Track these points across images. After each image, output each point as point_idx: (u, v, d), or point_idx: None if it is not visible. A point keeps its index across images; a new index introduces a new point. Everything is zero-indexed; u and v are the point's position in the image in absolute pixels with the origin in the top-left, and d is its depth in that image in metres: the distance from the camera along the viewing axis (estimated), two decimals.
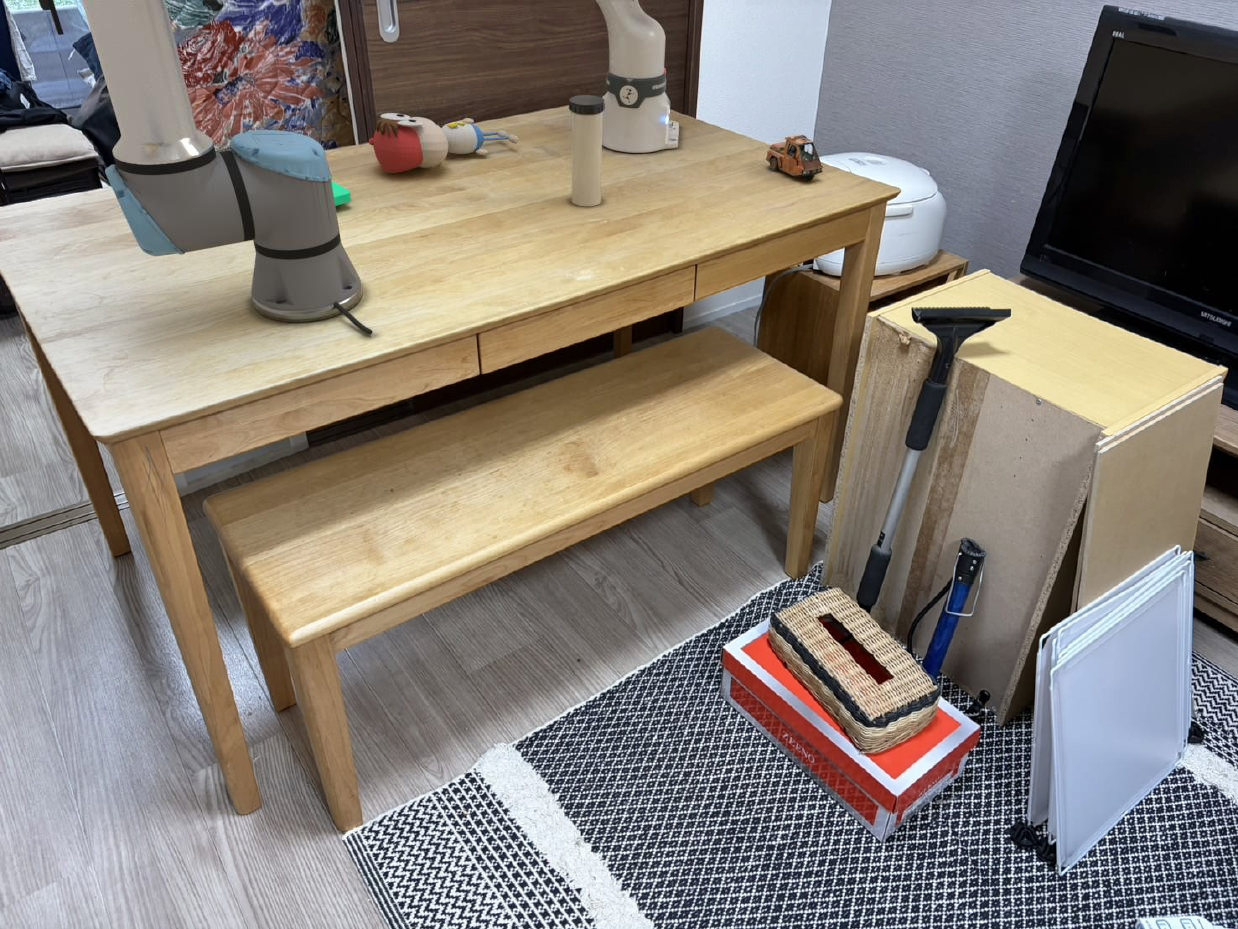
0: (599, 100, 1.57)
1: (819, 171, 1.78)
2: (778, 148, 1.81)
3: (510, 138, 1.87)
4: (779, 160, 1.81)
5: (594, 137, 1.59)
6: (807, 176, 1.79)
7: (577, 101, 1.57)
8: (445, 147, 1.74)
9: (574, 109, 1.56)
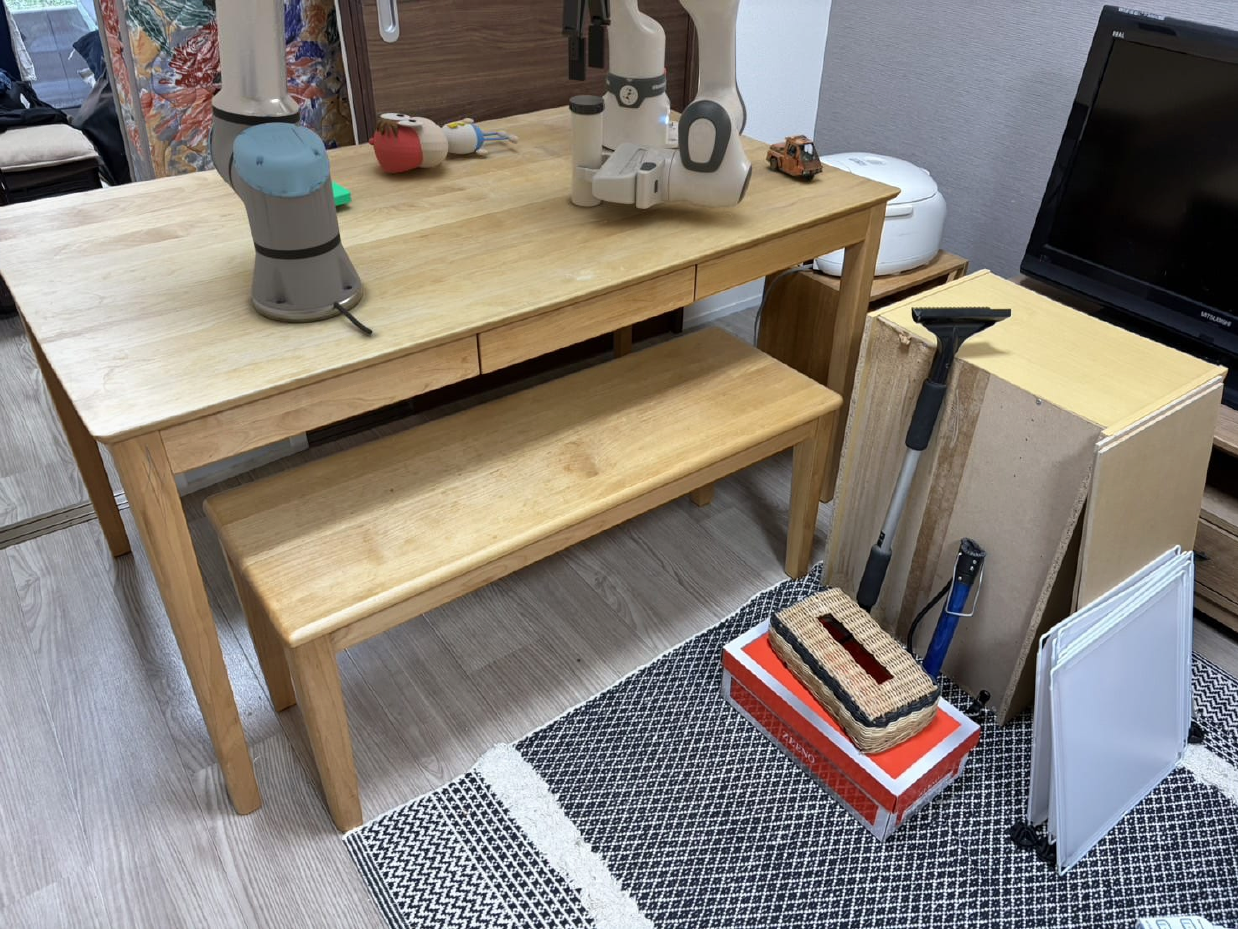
0: (599, 100, 1.57)
1: (819, 171, 1.78)
2: (778, 148, 1.81)
3: (510, 138, 1.87)
4: (779, 160, 1.81)
5: (594, 137, 1.59)
6: (807, 176, 1.79)
7: (577, 101, 1.57)
8: (445, 147, 1.74)
9: (574, 109, 1.56)
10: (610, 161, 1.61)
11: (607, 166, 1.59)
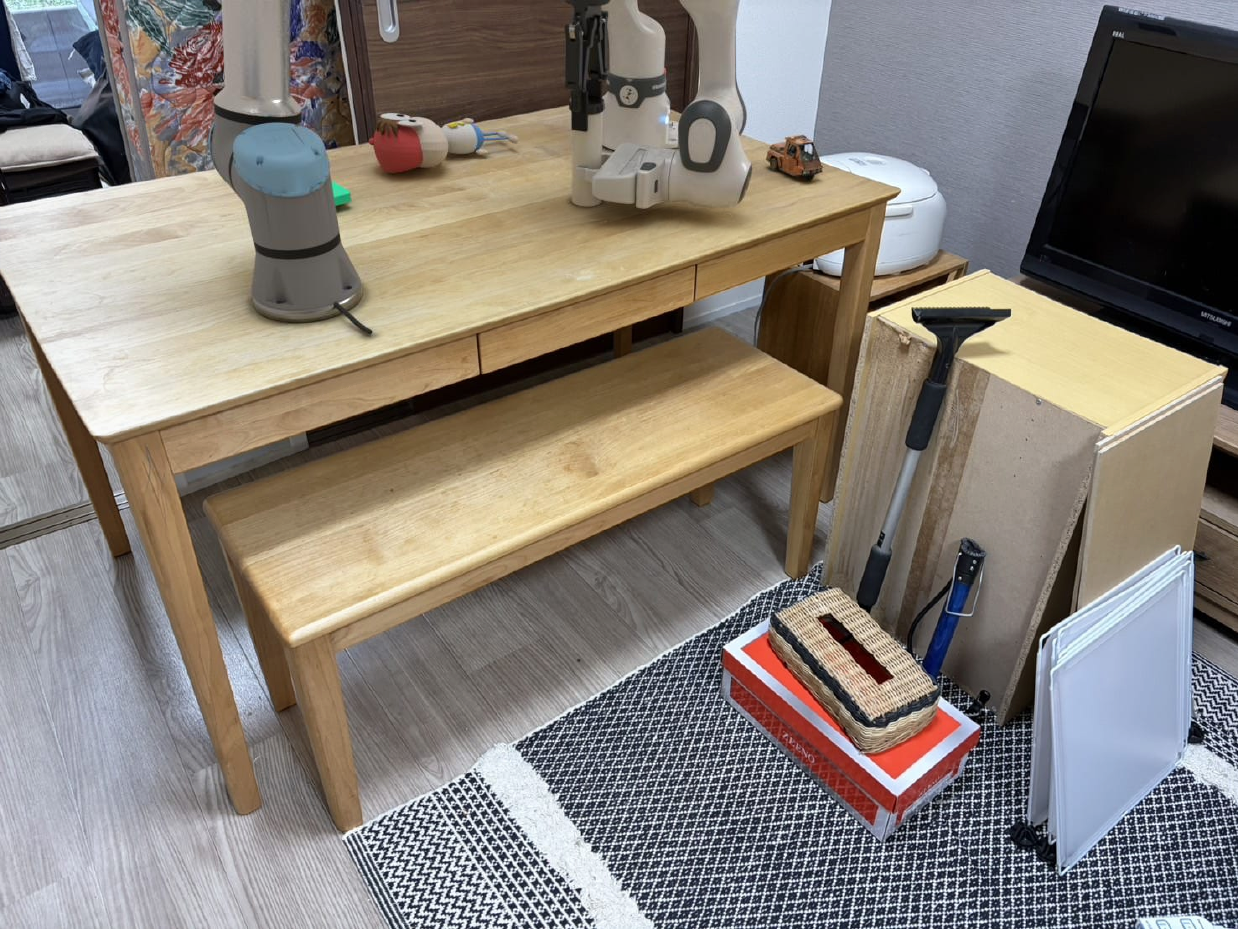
0: (599, 100, 1.57)
1: (819, 171, 1.78)
2: (778, 148, 1.81)
3: (510, 138, 1.87)
4: (779, 160, 1.81)
5: (594, 137, 1.59)
6: (807, 176, 1.79)
7: None
8: (445, 147, 1.74)
9: None
10: (610, 161, 1.61)
11: (607, 166, 1.59)
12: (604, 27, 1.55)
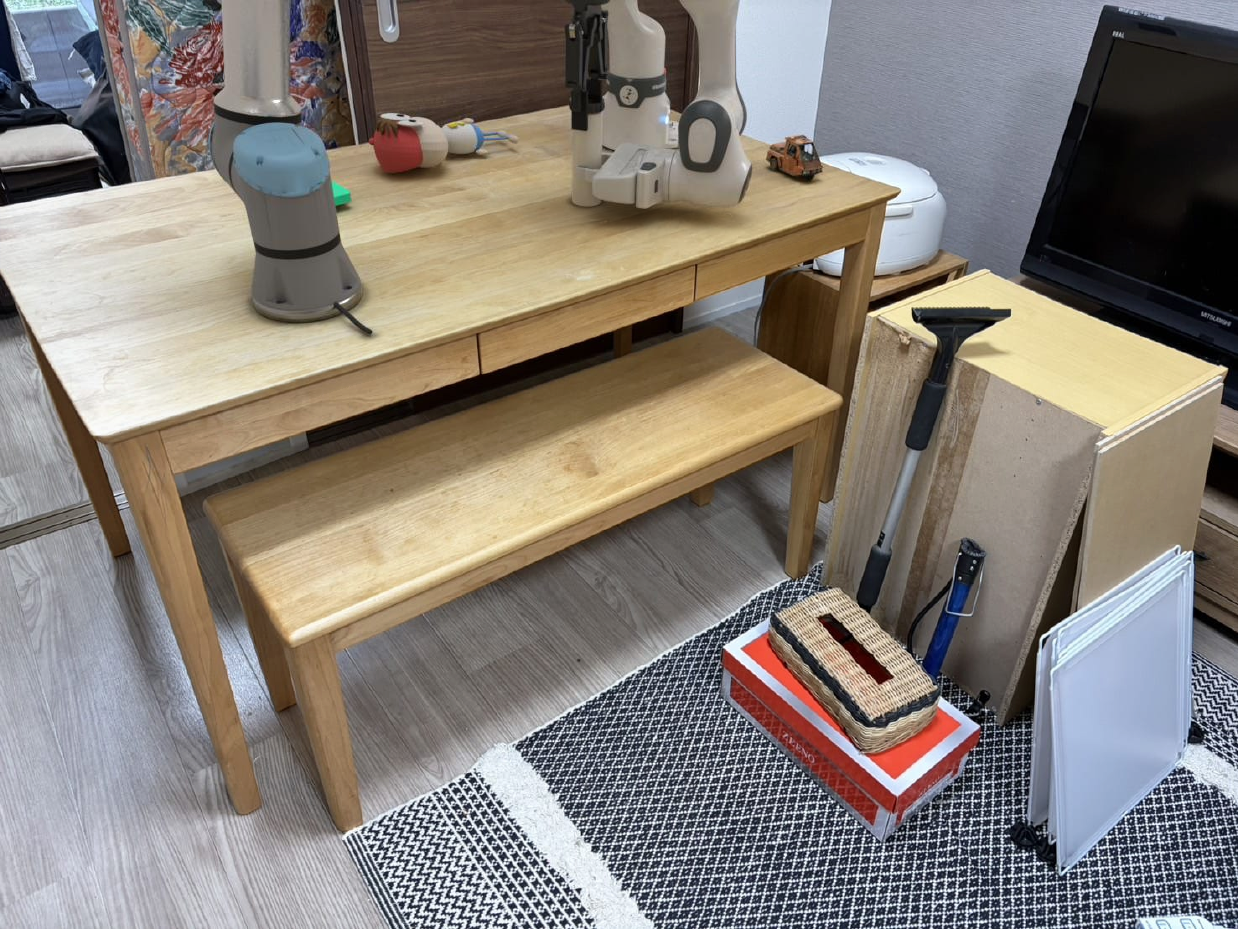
0: None
1: (819, 171, 1.78)
2: (778, 148, 1.81)
3: (510, 138, 1.87)
4: (779, 160, 1.81)
5: (594, 137, 1.59)
6: (807, 176, 1.79)
7: (593, 101, 1.56)
8: (445, 147, 1.74)
9: (599, 109, 1.56)
10: (610, 161, 1.61)
11: (607, 166, 1.59)
12: (604, 26, 1.55)
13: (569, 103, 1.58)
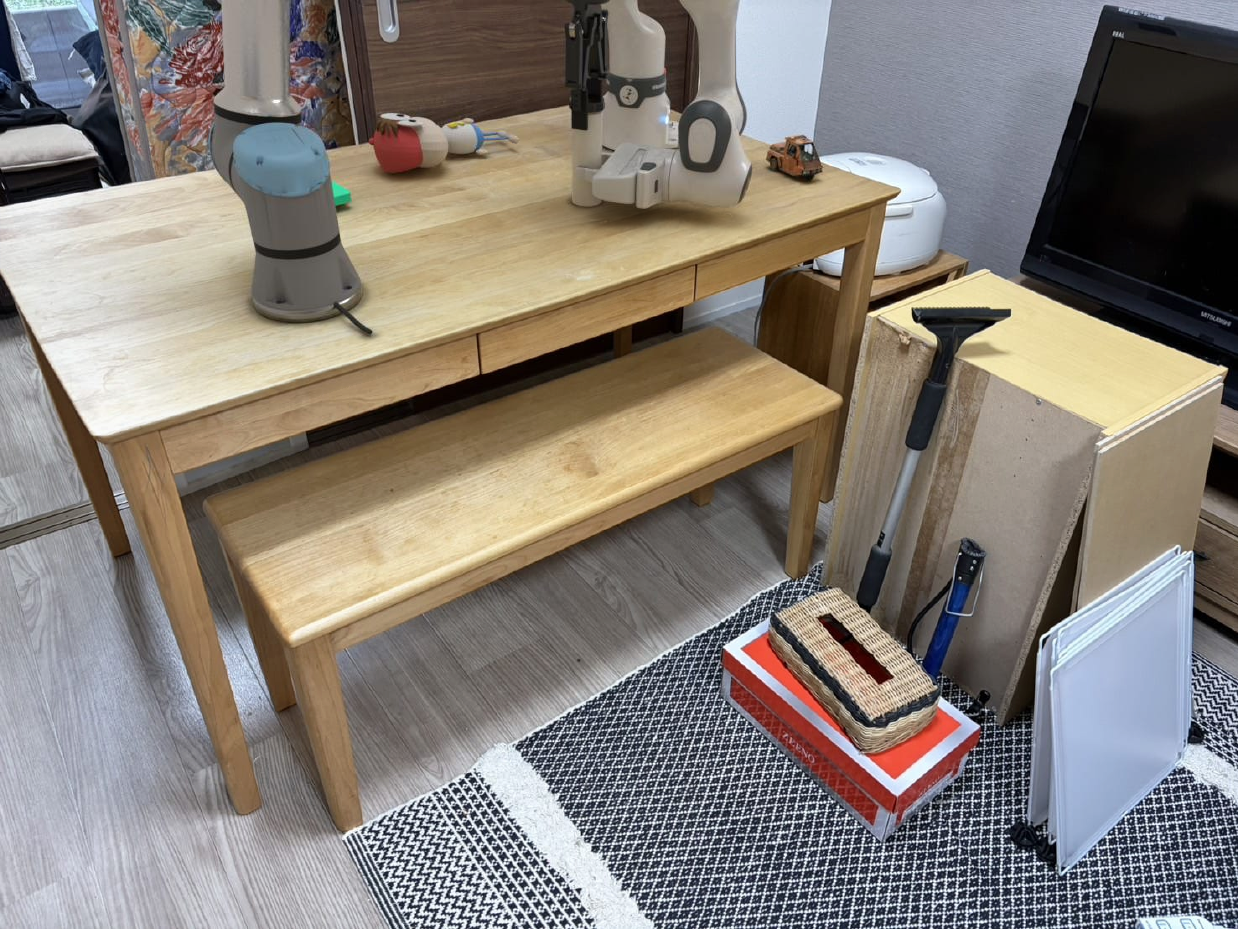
0: None
1: (819, 171, 1.78)
2: (778, 148, 1.81)
3: (510, 138, 1.87)
4: (779, 160, 1.81)
5: (594, 137, 1.59)
6: (807, 176, 1.79)
7: (595, 96, 1.58)
8: (445, 147, 1.74)
9: None
10: (610, 161, 1.61)
11: (607, 166, 1.59)
12: (604, 26, 1.55)
13: None
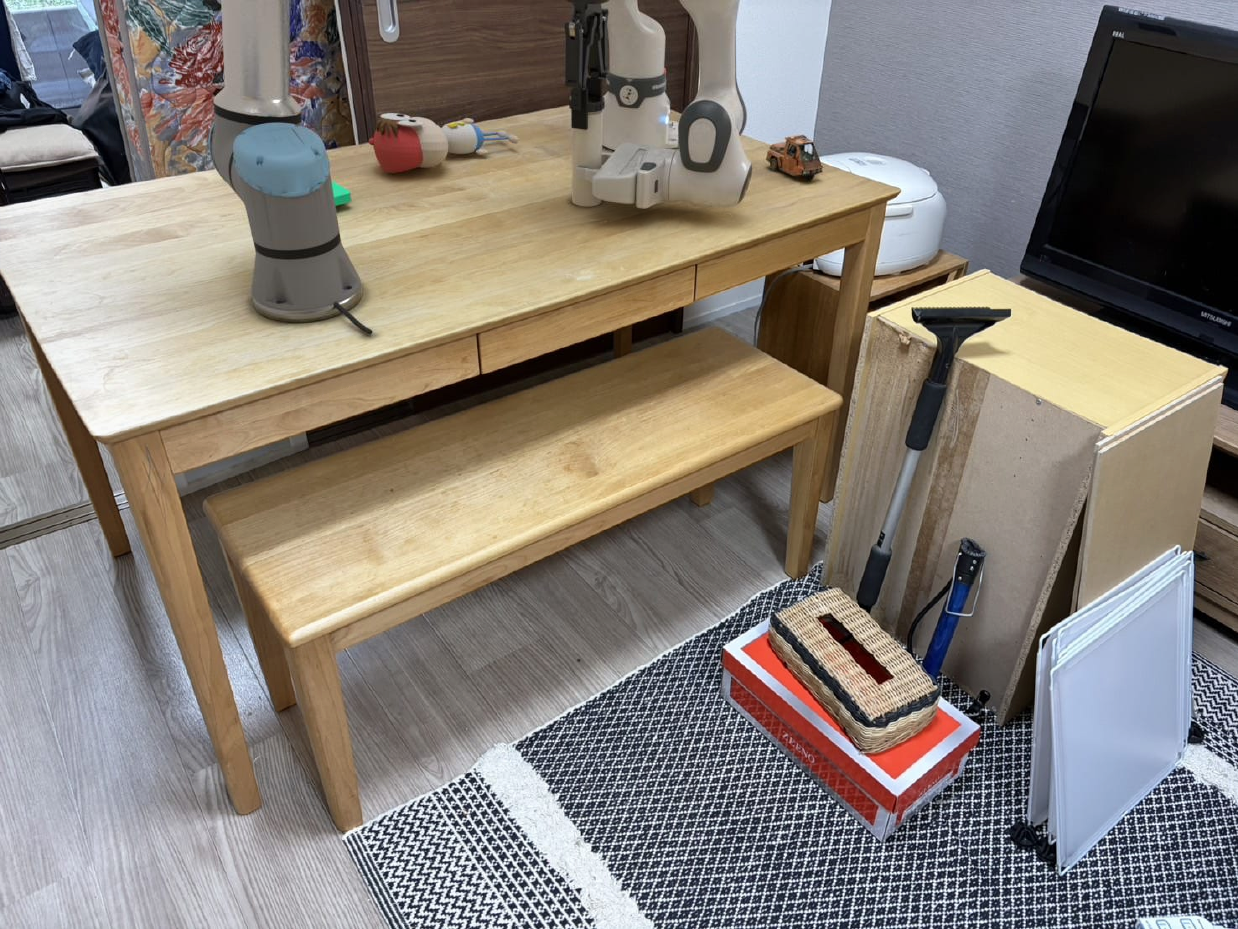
0: (588, 101, 1.56)
1: (819, 171, 1.78)
2: (778, 148, 1.81)
3: (510, 138, 1.87)
4: (779, 160, 1.81)
5: (594, 137, 1.59)
6: (807, 176, 1.79)
7: None
8: (445, 147, 1.74)
9: None
10: (610, 161, 1.61)
11: (607, 166, 1.59)
12: (604, 25, 1.54)
13: (604, 102, 1.58)
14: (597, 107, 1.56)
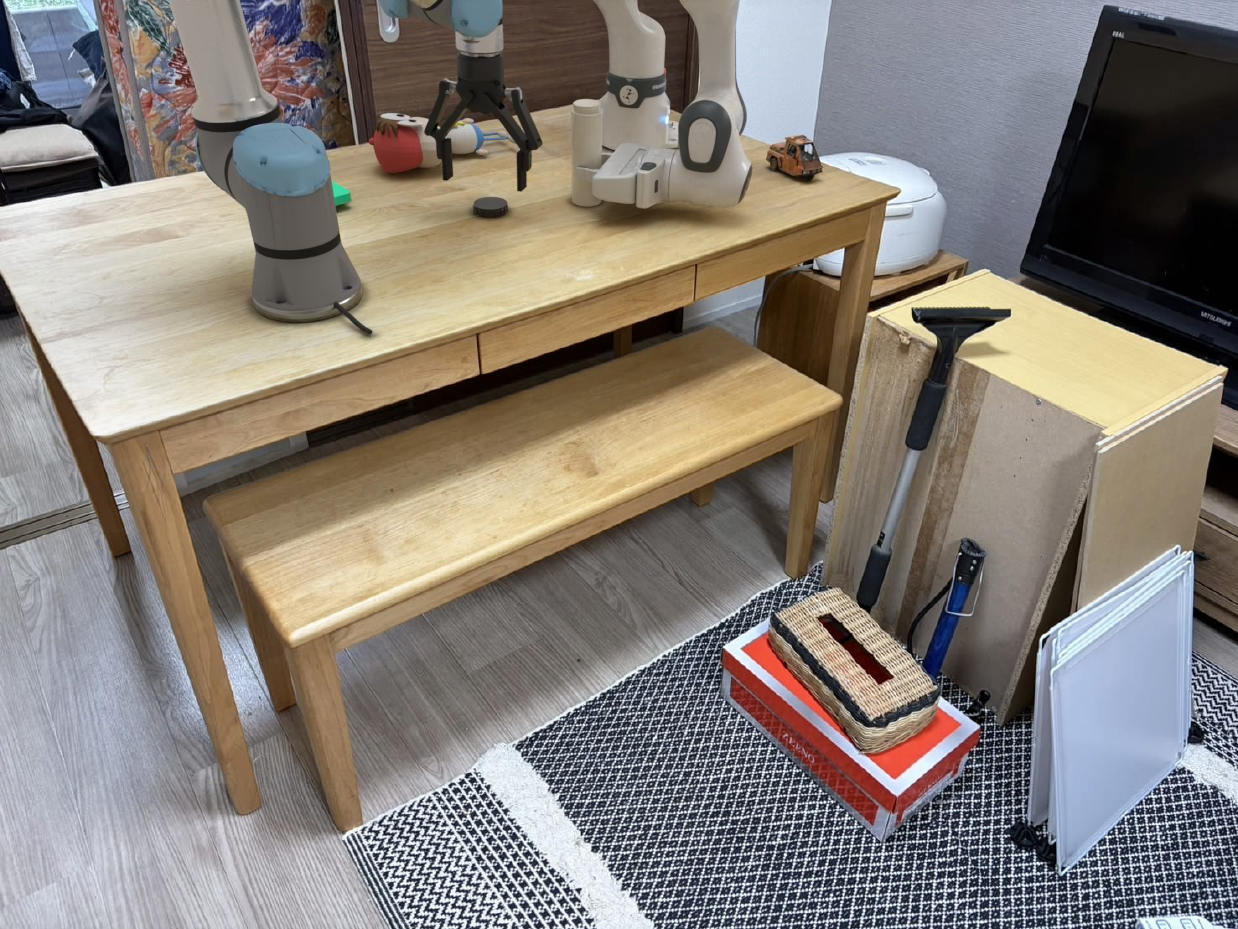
0: (502, 202, 1.63)
1: (819, 171, 1.78)
2: (778, 148, 1.81)
3: (510, 138, 1.87)
4: (779, 160, 1.81)
5: (594, 137, 1.59)
6: (807, 176, 1.79)
7: (482, 205, 1.61)
8: None
9: (481, 214, 1.61)
10: (610, 161, 1.61)
11: (607, 166, 1.59)
12: None
13: None
14: None
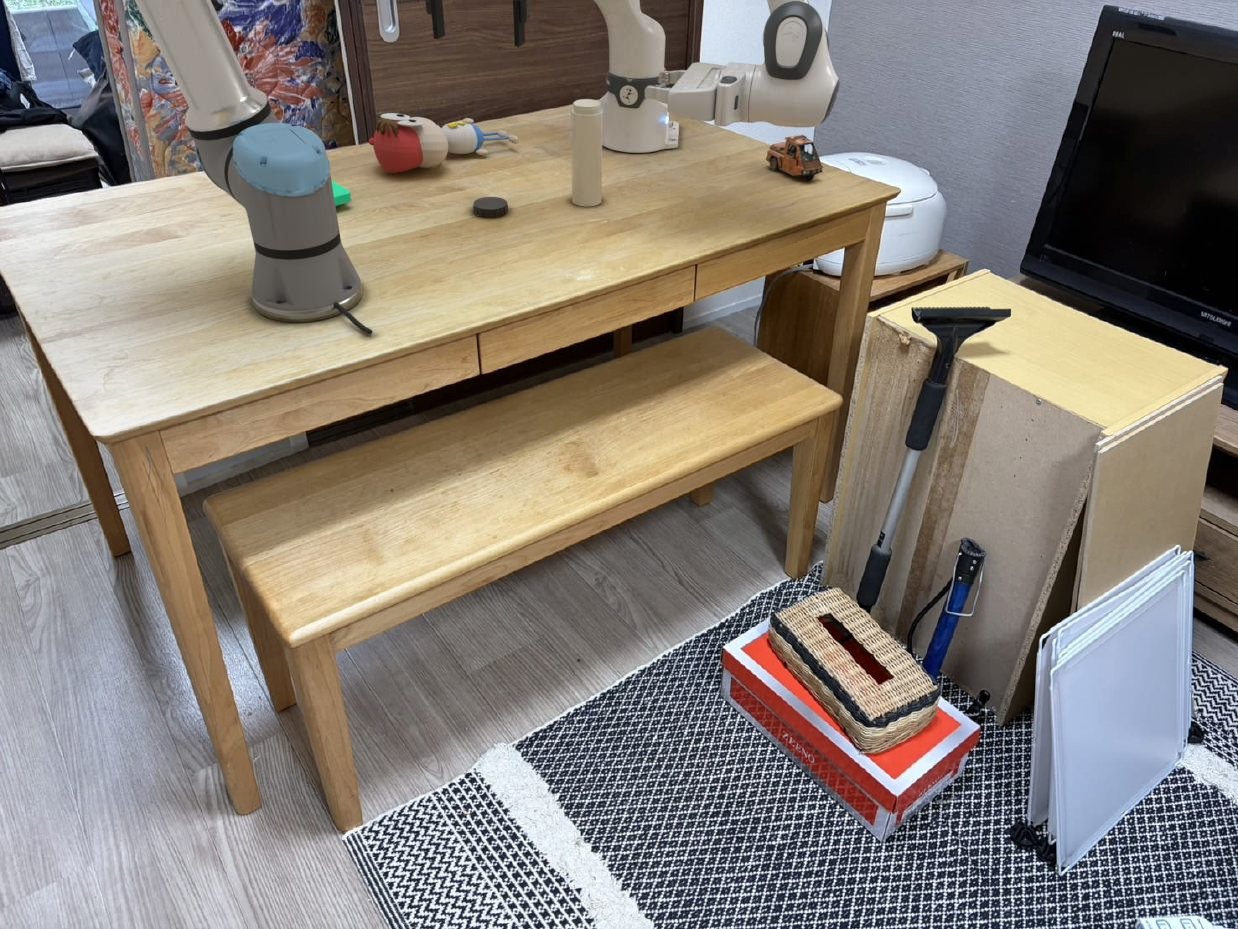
0: (502, 202, 1.63)
1: (819, 171, 1.78)
2: (778, 148, 1.81)
3: (510, 138, 1.87)
4: (779, 160, 1.81)
5: (594, 137, 1.59)
6: (807, 176, 1.79)
7: (482, 205, 1.61)
8: (445, 147, 1.74)
9: (481, 214, 1.61)
10: (685, 78, 1.50)
11: (682, 82, 1.48)
12: None
13: None
14: None
